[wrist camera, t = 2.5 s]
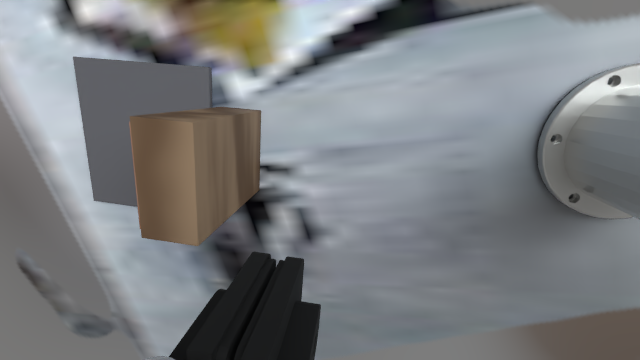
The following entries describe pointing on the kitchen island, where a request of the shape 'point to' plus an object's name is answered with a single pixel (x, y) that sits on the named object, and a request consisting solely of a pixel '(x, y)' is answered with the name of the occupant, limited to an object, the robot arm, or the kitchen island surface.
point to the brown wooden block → (193, 170)
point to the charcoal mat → (129, 113)
